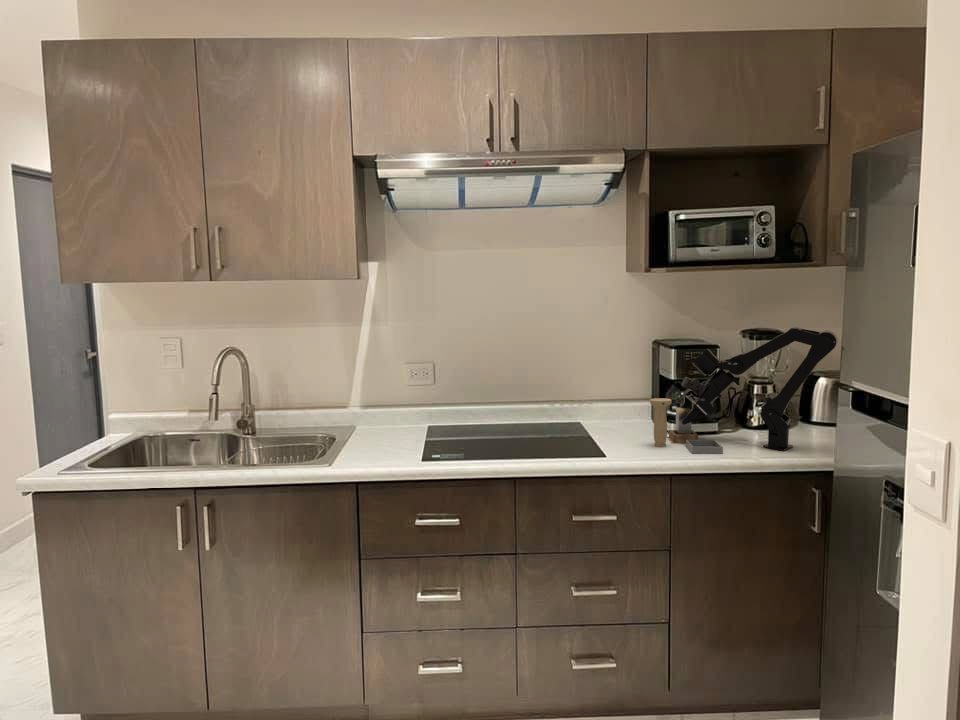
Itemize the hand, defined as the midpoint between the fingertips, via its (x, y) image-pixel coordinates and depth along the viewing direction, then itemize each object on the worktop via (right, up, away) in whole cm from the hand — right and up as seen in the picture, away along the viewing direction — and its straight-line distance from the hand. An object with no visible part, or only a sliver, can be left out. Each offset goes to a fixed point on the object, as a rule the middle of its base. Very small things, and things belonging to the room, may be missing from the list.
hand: (679, 420), depth 213 cm
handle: (-8, -8, -6) cm, 12 cm away
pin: (+1, -6, +1) cm, 7 cm away
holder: (+1, -7, +1) cm, 7 cm away
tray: (+4, -8, -12) cm, 15 cm away
